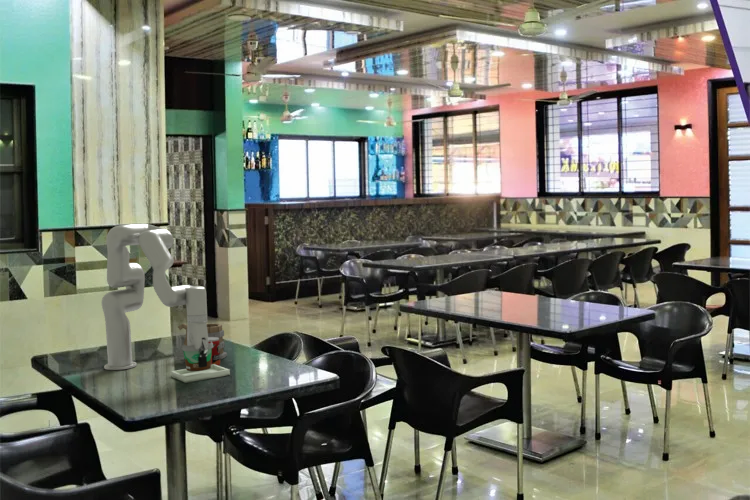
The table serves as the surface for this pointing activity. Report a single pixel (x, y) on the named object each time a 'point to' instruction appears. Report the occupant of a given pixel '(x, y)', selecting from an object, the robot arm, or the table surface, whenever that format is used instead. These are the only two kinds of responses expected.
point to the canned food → (215, 350)
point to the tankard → (211, 335)
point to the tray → (200, 374)
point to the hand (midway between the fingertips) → (199, 365)
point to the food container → (196, 357)
